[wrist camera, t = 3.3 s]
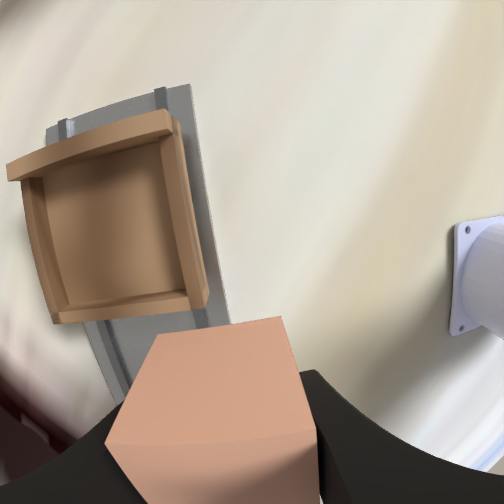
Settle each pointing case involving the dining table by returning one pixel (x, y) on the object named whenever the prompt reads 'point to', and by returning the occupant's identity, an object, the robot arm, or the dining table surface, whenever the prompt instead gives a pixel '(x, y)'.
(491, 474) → the robot arm
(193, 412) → the block
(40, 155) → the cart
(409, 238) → the dining table surface
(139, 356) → the rail
